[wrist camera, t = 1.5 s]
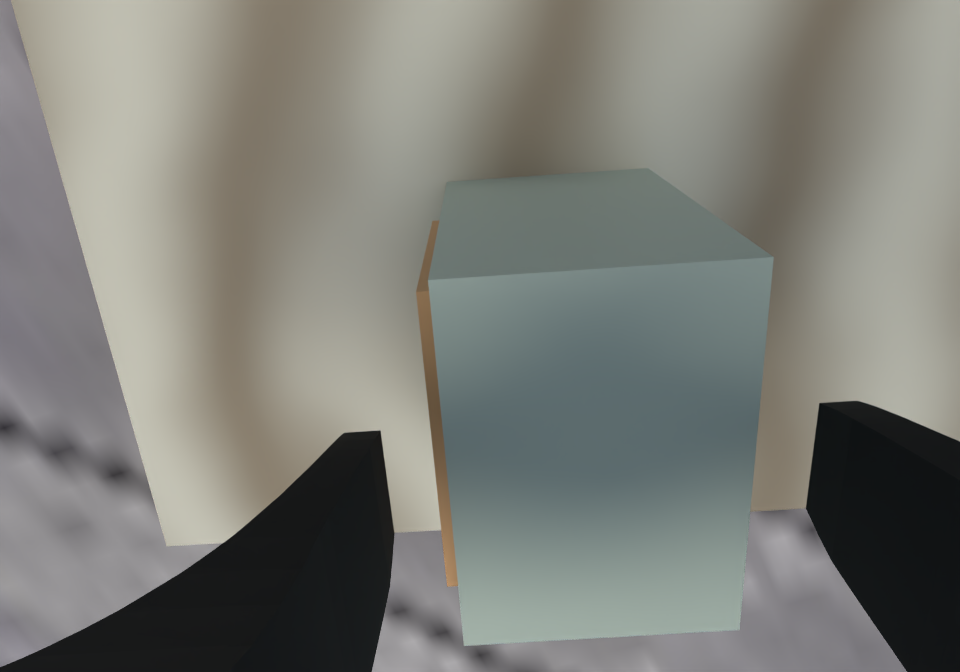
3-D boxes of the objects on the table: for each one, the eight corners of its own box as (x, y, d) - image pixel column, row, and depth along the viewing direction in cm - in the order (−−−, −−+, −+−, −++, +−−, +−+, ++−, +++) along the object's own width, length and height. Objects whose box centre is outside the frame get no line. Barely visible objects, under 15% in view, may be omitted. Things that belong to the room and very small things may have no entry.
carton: (648, 168, 18) (774, 256, 10) (642, 416, 20) (739, 629, 13) (435, 182, 18) (407, 281, 10) (457, 428, 20) (447, 646, 13)
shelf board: (1063, -209, 16) (1118, -233, 15) (926, 471, 23) (955, 499, 21) (11, -129, 16) (-30, -145, 15) (185, 516, 23) (166, 546, 22)
